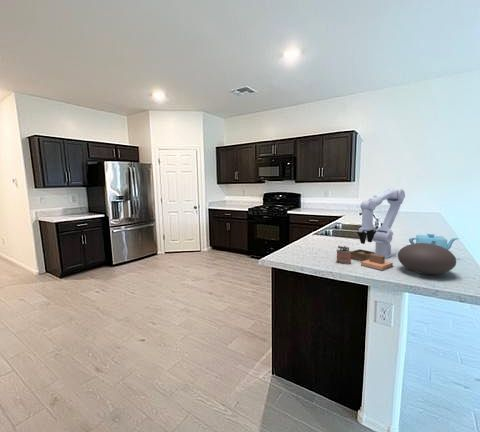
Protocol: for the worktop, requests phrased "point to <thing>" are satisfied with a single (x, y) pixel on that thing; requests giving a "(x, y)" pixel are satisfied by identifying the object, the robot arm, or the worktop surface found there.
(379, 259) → the lid
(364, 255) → the box
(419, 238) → the teakettle
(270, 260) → the worktop surface
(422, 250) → the smooth stone
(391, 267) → the mat
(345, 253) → the ornate red tin
